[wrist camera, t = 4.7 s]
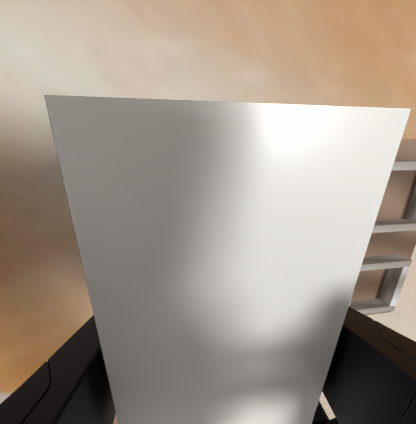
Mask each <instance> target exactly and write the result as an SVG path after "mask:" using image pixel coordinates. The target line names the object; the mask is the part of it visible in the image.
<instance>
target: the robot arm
mask: <svg viewBox="0 0 416 424" xmlns="http://www.w3.org/2000/svg"><path fill="white" fill-rule="evenodd" d="M322 391H323V393H324V395H325V397H326V399H327V401H328V403H329V405H330V407H331V409H332V411H333V413H334V414H335V416H336V417H335V418H333V419H331V420H329V418H328V416H327V414H326V412H325V411H324V409H323V407H322V405H321V403H320V401H319V402H318V405H317V408H316V411H315V414H314V418H313V421H312V424H416V342H415V341H413V340H411V339H409V338H407V337H405V336H403V335H401V334H399V333H397V332H396V331H394V330H392V329H390V328H388V327H386V326H384V325H382V324H381V323H379V322H377V321H374V320H373V319H371V318H370V317H368V316H366V315H364V314H362V313H360V312H359V311H357V310H355V309H353V308H351V307H348V310H347V313H346V316H345V319H344V323H343V326H342V329H341V332H340V335H339V338H338V342H337V345H336V348H335V351H334V354H333V357H332V361H331V364H330V367H329V370H328V373H327V376H326V380H325V383H324V386H323V389H322ZM115 413H116V411H115V406H114V402H113V398H112V393H111V389H110V384H109V380H108V375H107V371H106V367H105V362H104V358H103V353H102V349H101V345H100V340H99V336H98V331H97V327H96V322H95V318H94V315H93V316H92V317H91V318H90V319H89V320H88V321H87V322H86V323H85V324H84V325H83V326H82V327H81V328H80V329H79V330H78V331H77V332H76V333H75V334H74V335H73V336H72V337H71V338H70V339H69V340H68V341H67V342H66V343H65V344H64V345H63V346H61V347H60V348H59V349H58V350H57V351H56V352H55V353H54V354H53V355H52V356H51V357H50V358H49V359H48V362H45V363H44V364H43V365H42V366H41V367H40V368H39V369H38V370H37V371H36V372H35V373H34V374H33V375H32V376H30V377H29V378H28V379H27V380H26V381H25V382H24V383H23V384H22V385H21V386H20V387H19V388H18V389H17V390H16V391H15V392H13V393H12V394H11V395H10V396H9V397H8V398H7V399H6V400H4V401H3V402H2V403H1V404H0V424H113V421H114V417H115Z"/></svg>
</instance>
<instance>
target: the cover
mask: <svg viewBox="0 0 416 424" xmlns="http://www.w3.org/2000/svg"><path fill="white" fill-rule="evenodd" d="M44 97H45V101H46V106H47V110H48V115H49V119H50V124H51V128H52V132H53V137H54V141H55V146H56V150H57V154H58V159H59V163H60V168H61V172H62V177H63V181H64V185H65V190H66V194H67V199H68V203H69V208H70V212H71V216H72V221H73V225H74V230H75V234H76V238H77V243H78V247H79V252H80V256H81V261H82V265H83V269H84V274H85V278H86V283H87V287H88V291H89V296H90V300H91V305H92V309H93V314H94V318H95V322H96V327H97V331H98V336H99V340H100V345H101V349H102V353H103V358H104V362H105V367H106V371H107V375H108V380H109V384H110V389H111V393H112V398H113V402H114V406H115V411H116V415H117V420H118V424H312V421H313V418H314V414H315V411H316V408H317V405H318V402H319V399H320V395H321V392H322V389H323V386H324V383H325V380H326V376H327V373H328V370H329V367H330V364H331V361H332V357H333V354H334V351H335V348H336V345H337V342H338V338H339V335H340V332H341V329H342V326H343V323H344V319H345V316H346V313H347V310H348V307H349V304H350V300H351V297H352V294H353V291H354V288H355V285H356V281H357V278H358V275H359V272H360V269H361V266H362V262H363V259H364V256H365V253H366V250H367V247H368V243H369V240H370V237H371V234H372V231H373V228H374V224H375V221H376V218H377V215H378V212H379V209H380V205H381V202H382V199H383V196H384V193H385V190H386V186H387V183H388V180H389V177H390V174H391V171H392V167H393V164H394V161H395V158H396V155H397V152H398V148H399V145H400V142H401V139H402V136H403V133H404V129H405V126H406V123H407V120H408V117H409V114H410V110H411V109H402V108H376V107H349V106H323V105H296V104H269V103H243V102H216V101H190V100H163V99H137V98H110V97H83V96H57V95H44Z"/></svg>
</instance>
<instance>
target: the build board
mask: <svg viewBox="0 0 416 424" xmlns="http://www.w3.org/2000/svg"><path fill="white" fill-rule="evenodd" d="M415 245H416V140H401V142H400V145H399V148H398V152H397V155H396V158H395V161H394V164H393V167H392V171H391V174H390V177H389V180H388V183H387V186H386V190H385V193H384V196H383V199H382V202H381V205H380V209H379V212H378V215H377V218H376V221H375V224H374V228H373V231H372V234H371V237H370V240H369V243H368V247H367V250H366V253H365V256H364V259H363V262H362V266H361V269H360V272H359V275H358V278H357V281H356V285H355V288H354V291H353V294H352V297H351V300H350V304H349V307H351V308H353V309H355V310H357V311H359V312H360V313H362V314H364V315H370V314H378V313H386V312H391V311H394V308H395V305H396V302H397V300H398V297H399V294H400V291H401V289H402V286H403V283H404V281H405V278H406V275H407V272H408V270H409V267H410V264H411V261H412V260H410V258H411V256H412V253H413V250H414V247H415Z"/></svg>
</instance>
